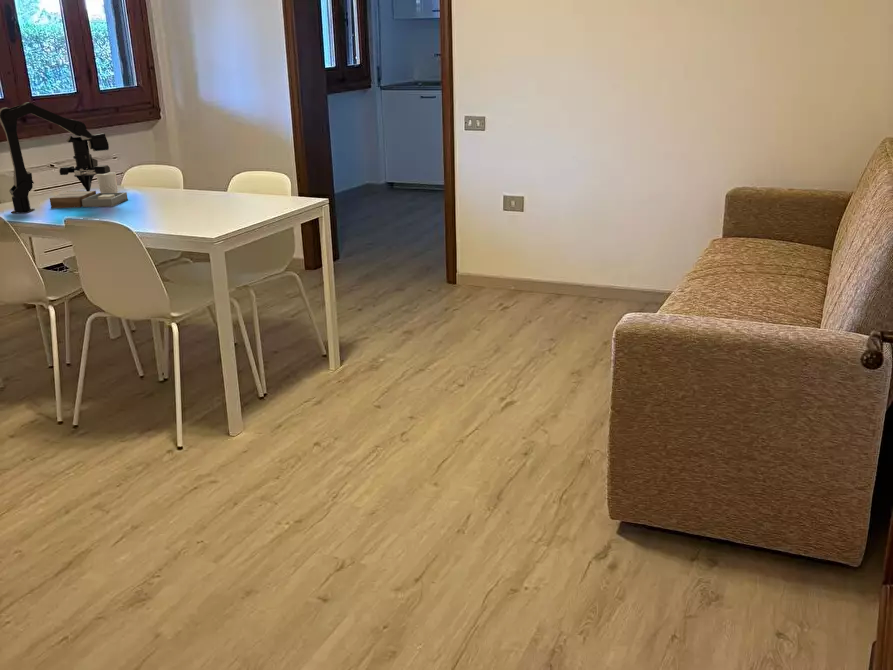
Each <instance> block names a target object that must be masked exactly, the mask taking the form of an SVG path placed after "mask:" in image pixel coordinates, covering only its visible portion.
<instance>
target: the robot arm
mask: <svg viewBox="0 0 893 670" xmlns="http://www.w3.org/2000/svg"><path fill="white" fill-rule="evenodd" d="M29 114H31V115H34V116H35V117H38V118H41V119H42V120H45V121H47V122H49V123H52V124H55V125H57V126H59V127H61V128H63V129H64V130H65V131H67V132H69V133H70V134H72V135H75V136H76V137H73V136H72V135H69V137H67V139H66V142H68V143H71V144H72V150H73V154H74V156H72V157H73V159H74V161H75V165H76V166H73V165H69V166H68V165H67V166H66V165H64V166H63V167H60V168H59V176H67V175H69V173H70V174H74V175H73V177H74V178H76V179H77V180H79V182H80V183H81V184H82V186H83V188H84V190H85V191H91V187H92V181H93V179H94V176H96V175H97V174H106V173H108V172H111V168H110V165H108V164H107V165H106V164H103V165H102V164H101V165H99V164H98V163H99V162H98V159H95V158H93V157H92V154H90V153H91V152H90V150H92V151H93V152H104V151H109V147H110V146H109V144H110V143H109V141H108V139H107V135H106V133H103V132H102V133H97V134H92V132H90V131H89V130H88V129H87V126H86V124H85V123H84V122H82V121H79V120H76V119H73V118H67V117H64V116H61V115H59V114H56V113H54V112H51V111H49V110H47V109H45V108H42V107H40V106H38V105H35V104H34V103H33V102H29V101H28V102H24V103H22V104H19V105H15V106H13V107H1V108H0V125H1V127H2V129H3V131H4V133H5V138H6V140H7V144H8V149H9V150H8V151H9V153H10V158H11V161H12V165H13V186H12V187H11V188H10V189H9V191H8V192H9V194H10V195H11V200H12V205H13V209H14V210H12V211H10V213H11V214H26V213H29V212H33V211H35V208H31V202H30V199H29V193H30V192H31V191H32V189H33V186H34V185H33V184H35V182H34V180H33V174H32V172H30V171H27V169H26V167H25V162H24V159H23V154H22V149H21V145H20V140H19V136H18V119H19V118H22V117H24V116H27V115H29ZM81 136H82V137H83V138H82V137H81Z"/></svg>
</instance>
